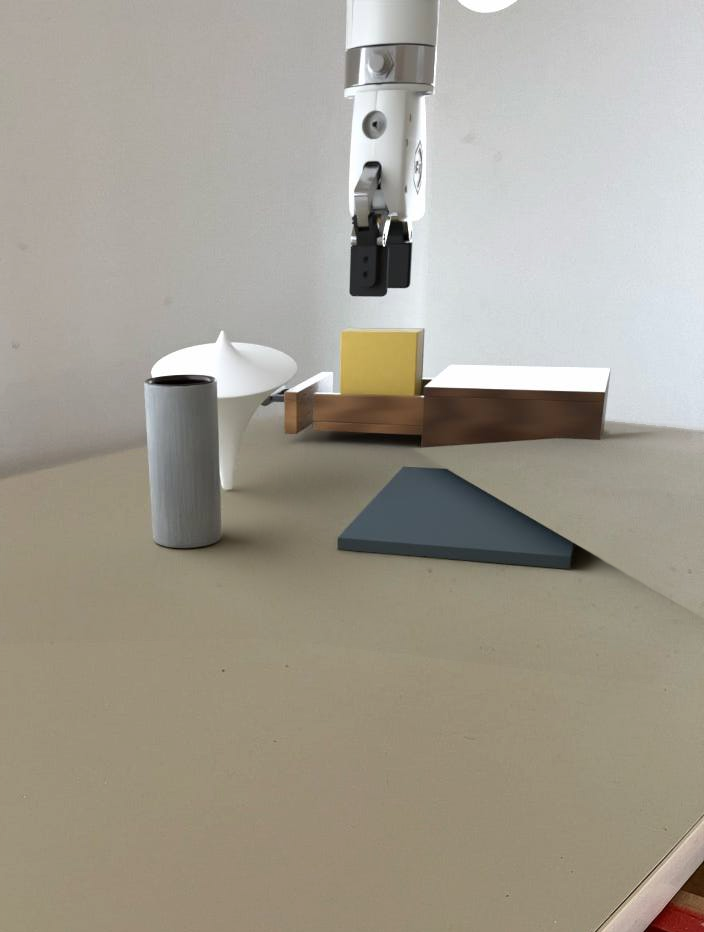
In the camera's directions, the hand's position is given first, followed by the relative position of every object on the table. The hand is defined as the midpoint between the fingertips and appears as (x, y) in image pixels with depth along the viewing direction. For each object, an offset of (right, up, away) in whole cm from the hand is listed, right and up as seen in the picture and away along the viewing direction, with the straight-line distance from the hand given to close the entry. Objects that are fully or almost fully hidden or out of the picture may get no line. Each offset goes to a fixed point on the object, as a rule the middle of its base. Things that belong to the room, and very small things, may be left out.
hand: (380, 291), depth 92 cm
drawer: (-2, -11, +5) cm, 12 cm away
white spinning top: (-14, -20, -13) cm, 28 cm away
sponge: (+1, -10, +4) cm, 11 cm away
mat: (+3, -23, -22) cm, 32 cm away
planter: (-17, -25, -25) cm, 39 cm away
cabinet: (+12, -13, +1) cm, 18 cm away
